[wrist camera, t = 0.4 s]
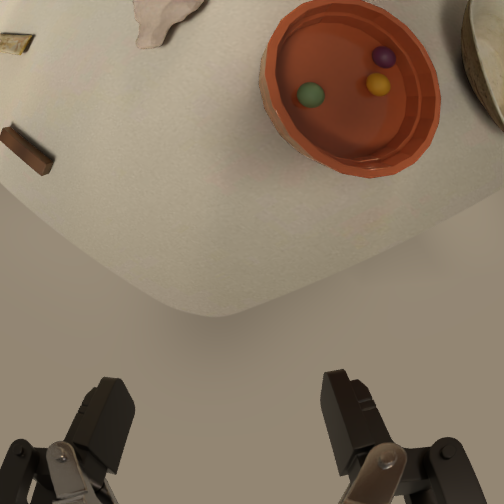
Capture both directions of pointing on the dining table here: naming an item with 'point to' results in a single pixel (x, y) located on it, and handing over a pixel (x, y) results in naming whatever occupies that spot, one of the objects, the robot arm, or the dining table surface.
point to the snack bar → (14, 43)
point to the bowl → (485, 54)
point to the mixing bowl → (350, 88)
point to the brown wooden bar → (26, 151)
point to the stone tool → (160, 18)
